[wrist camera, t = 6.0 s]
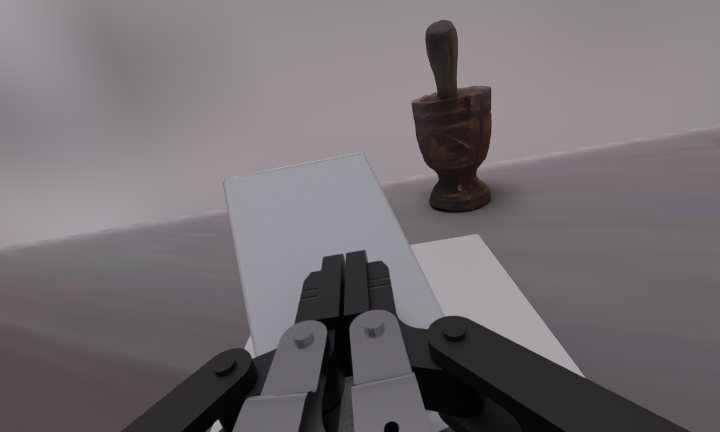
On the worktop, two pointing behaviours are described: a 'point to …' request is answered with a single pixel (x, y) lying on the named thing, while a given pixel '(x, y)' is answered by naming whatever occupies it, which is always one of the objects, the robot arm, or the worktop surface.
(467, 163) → the mortar and pestle
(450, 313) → the mat
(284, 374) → the robot arm
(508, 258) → the worktop surface
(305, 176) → the supplement box
